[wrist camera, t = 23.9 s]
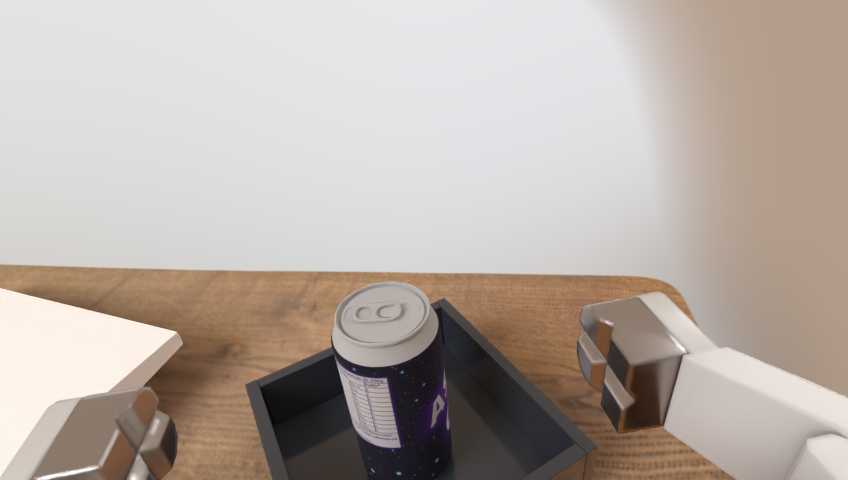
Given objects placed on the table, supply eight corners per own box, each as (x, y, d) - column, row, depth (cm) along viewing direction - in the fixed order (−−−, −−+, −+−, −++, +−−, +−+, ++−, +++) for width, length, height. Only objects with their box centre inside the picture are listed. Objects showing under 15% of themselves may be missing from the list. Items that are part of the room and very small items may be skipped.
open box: (448, 343, 39) (444, 297, 36) (589, 498, 27) (598, 446, 24) (265, 432, 33) (244, 384, 30) (341, 681, 21) (318, 638, 18)
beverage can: (454, 498, 27) (438, 347, 20) (358, 500, 27) (314, 353, 21) (451, 415, 31) (438, 273, 25) (370, 418, 32) (337, 279, 26)
